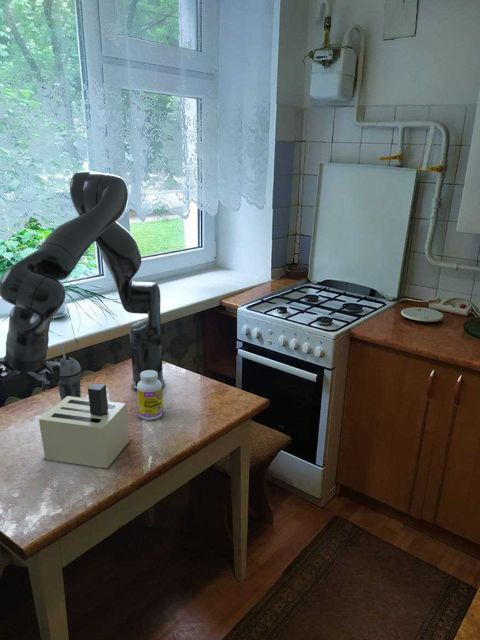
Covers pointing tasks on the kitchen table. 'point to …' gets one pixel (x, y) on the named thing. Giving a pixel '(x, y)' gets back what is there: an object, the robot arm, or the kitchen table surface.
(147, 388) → the supplement bottle
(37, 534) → the kitchen table surface
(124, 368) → the kitchen table surface
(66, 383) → the beverage cup
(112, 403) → the toaster
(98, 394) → the slider
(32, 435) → the kitchen table surface
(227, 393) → the kitchen table surface
